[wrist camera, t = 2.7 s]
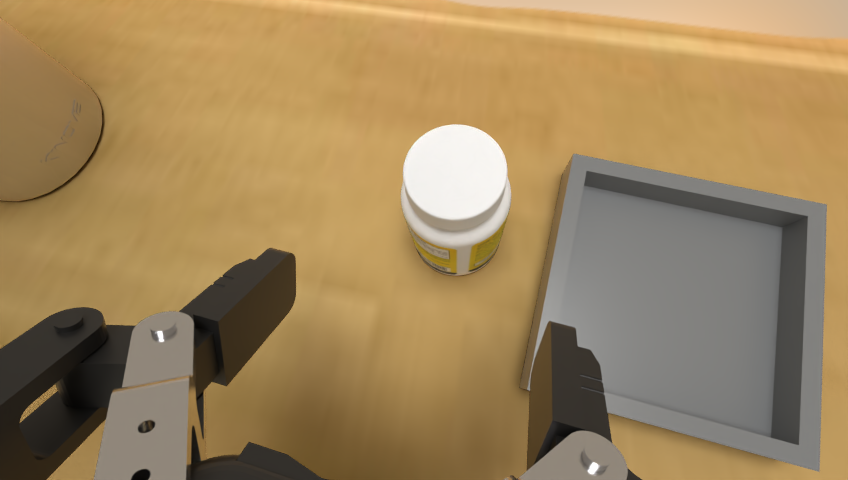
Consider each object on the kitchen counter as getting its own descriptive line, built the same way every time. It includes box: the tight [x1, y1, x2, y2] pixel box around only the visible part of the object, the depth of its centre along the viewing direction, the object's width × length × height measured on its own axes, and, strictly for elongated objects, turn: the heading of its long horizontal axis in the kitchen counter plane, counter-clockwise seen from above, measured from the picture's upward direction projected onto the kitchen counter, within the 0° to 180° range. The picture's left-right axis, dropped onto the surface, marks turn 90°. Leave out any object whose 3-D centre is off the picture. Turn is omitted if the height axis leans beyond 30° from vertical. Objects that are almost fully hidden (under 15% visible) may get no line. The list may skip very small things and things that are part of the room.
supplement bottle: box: [401, 125, 511, 276], centre depth 20 cm, size 5×5×8 cm
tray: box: [519, 154, 827, 472], centre depth 21 cm, size 12×12×2 cm
